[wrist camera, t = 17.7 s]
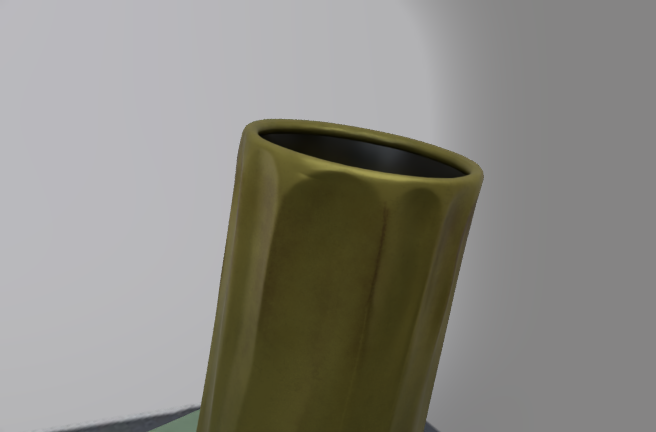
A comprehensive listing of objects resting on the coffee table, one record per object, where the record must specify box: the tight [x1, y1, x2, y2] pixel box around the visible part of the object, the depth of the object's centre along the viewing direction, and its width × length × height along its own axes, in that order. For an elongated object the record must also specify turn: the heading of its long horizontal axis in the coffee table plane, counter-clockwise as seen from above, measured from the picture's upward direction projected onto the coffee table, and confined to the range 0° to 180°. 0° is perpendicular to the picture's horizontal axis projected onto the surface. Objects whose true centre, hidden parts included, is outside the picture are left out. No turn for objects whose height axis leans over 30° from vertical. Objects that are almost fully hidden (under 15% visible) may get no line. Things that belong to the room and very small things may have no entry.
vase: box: [196, 119, 484, 432], centre depth 15 cm, size 6×6×14 cm
